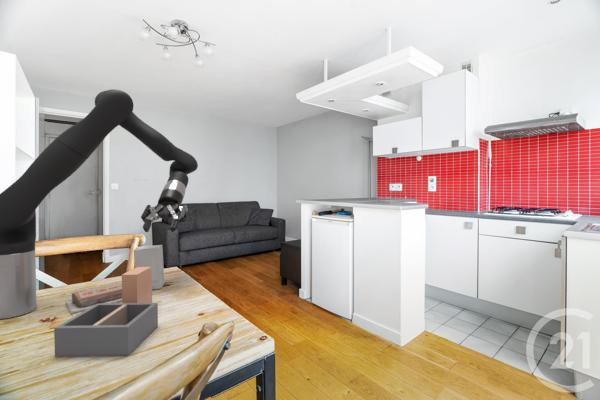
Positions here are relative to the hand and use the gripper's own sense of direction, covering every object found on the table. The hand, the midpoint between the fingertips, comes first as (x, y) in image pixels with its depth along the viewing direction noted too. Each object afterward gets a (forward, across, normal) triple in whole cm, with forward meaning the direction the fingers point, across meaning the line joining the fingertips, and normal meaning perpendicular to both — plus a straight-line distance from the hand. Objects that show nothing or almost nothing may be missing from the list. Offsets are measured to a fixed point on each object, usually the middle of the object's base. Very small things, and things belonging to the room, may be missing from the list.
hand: (158, 230), depth 93 cm
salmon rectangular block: (+24, 0, +6) cm, 25 cm away
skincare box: (+10, -7, +21) cm, 24 cm away
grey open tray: (+35, +2, -5) cm, 35 cm away
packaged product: (+19, -15, +12) cm, 27 cm away
